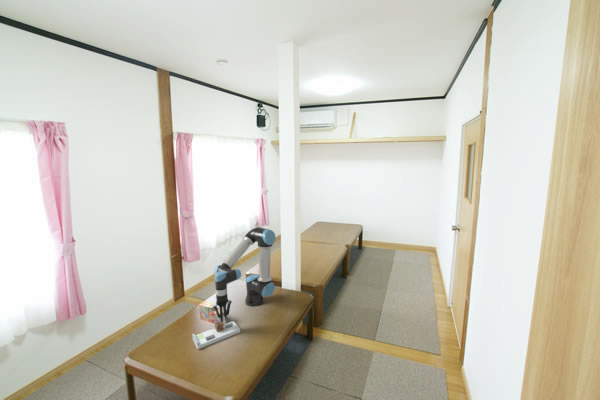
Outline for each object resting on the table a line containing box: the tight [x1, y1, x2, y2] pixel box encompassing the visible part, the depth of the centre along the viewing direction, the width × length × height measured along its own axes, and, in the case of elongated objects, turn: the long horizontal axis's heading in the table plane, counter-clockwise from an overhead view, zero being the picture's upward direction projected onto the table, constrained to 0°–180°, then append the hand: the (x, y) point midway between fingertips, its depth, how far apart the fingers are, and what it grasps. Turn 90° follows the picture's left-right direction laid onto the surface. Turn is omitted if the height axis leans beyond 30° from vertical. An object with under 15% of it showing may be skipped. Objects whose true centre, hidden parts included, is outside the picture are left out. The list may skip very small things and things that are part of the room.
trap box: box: [192, 320, 241, 350], centre depth 190 cm, size 29×12×4 cm, turn 125°
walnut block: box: [214, 321, 224, 332], centre depth 193 cm, size 4×4×4 cm
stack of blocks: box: [198, 300, 228, 325], centre depth 208 cm, size 21×6×12 cm, turn 64°
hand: (224, 325), depth 196 cm, fingers closed
